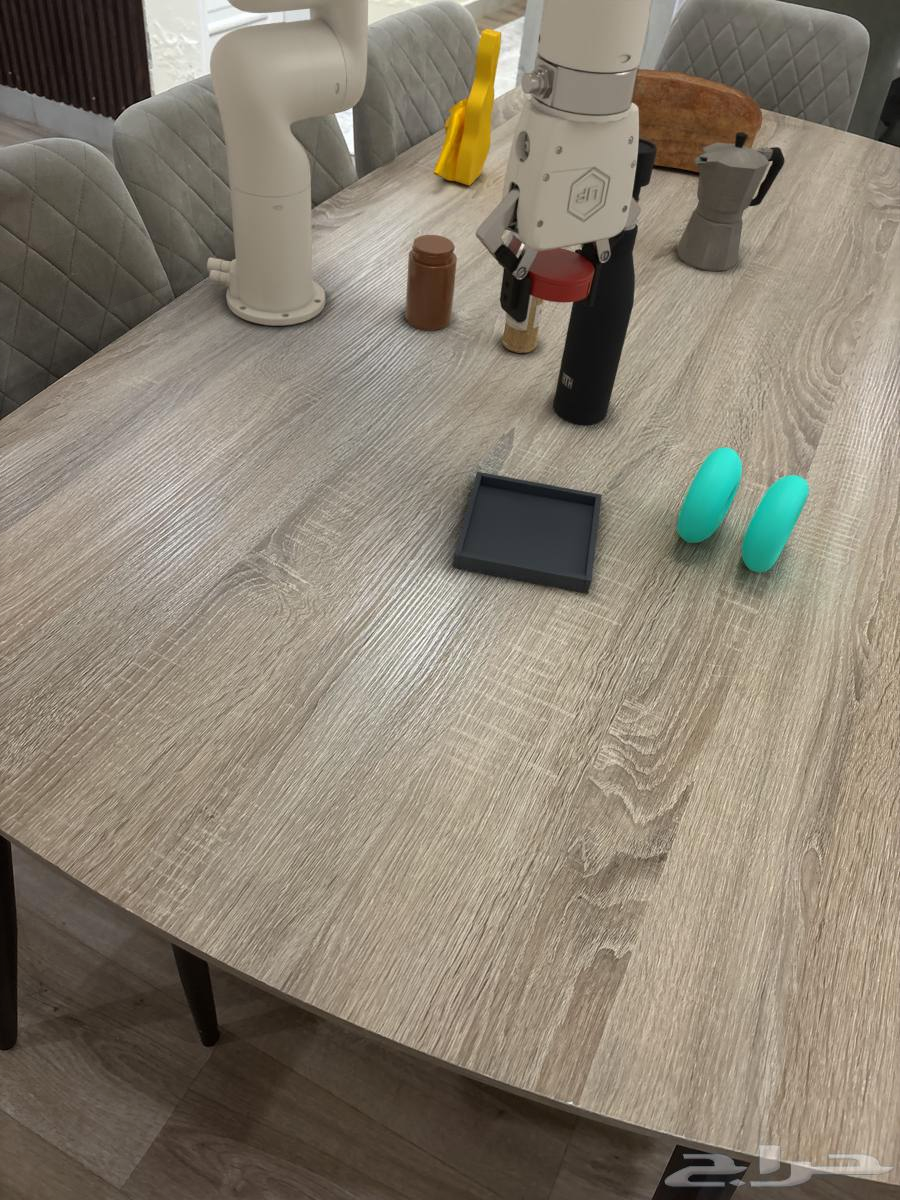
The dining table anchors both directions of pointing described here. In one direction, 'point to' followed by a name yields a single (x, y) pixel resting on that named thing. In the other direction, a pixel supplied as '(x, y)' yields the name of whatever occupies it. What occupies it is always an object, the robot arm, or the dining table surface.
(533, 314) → the spice jar
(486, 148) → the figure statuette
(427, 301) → the jam jar
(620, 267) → the black bottle
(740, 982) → the dining table surface
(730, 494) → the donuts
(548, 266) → the jar lid
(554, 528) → the slate tray
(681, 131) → the bread
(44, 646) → the dining table surface
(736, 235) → the coffeepot
